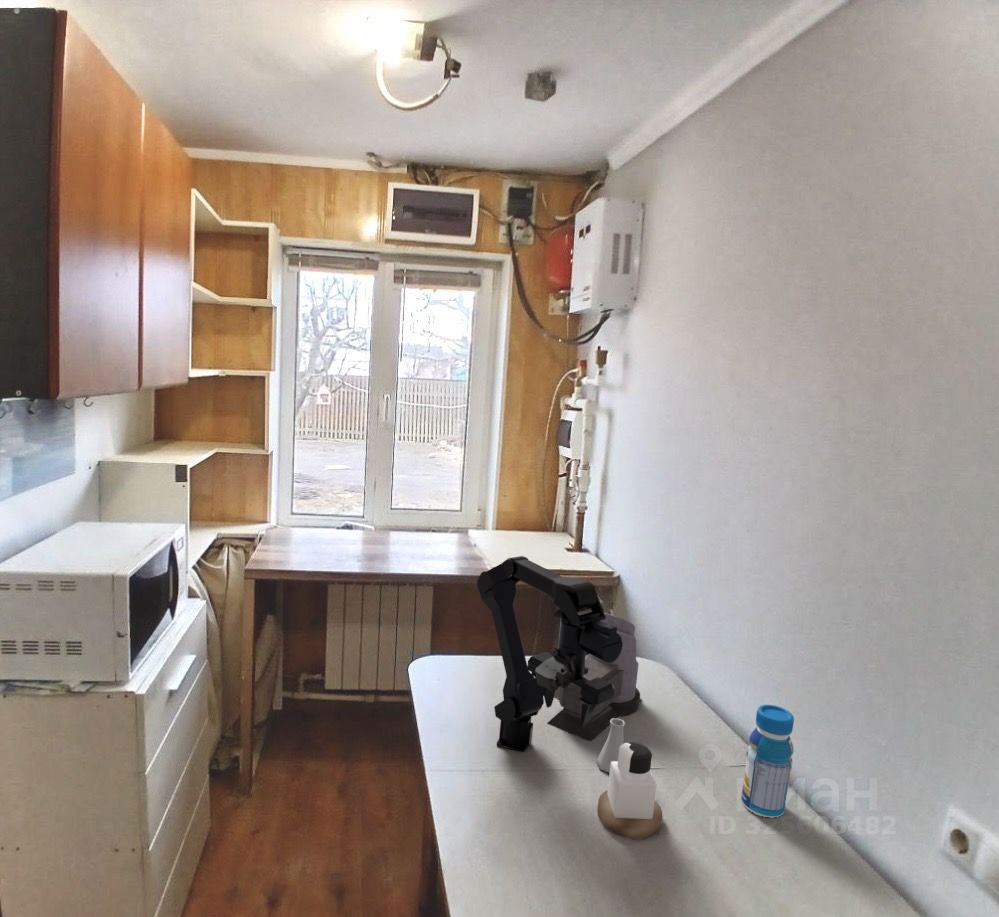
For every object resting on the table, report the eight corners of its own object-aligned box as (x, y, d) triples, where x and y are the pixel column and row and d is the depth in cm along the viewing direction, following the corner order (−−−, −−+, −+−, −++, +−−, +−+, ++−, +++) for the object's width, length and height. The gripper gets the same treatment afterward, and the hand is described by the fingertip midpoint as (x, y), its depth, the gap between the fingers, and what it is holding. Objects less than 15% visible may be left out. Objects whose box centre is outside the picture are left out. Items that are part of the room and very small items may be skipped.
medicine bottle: (642, 795, 132) (649, 738, 130) (652, 820, 125) (660, 760, 123) (606, 794, 132) (613, 736, 130) (614, 818, 125) (621, 758, 123)
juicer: (595, 678, 186) (604, 592, 182) (651, 698, 177) (661, 608, 173) (538, 720, 161) (547, 622, 158) (599, 746, 152) (610, 642, 149)
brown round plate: (592, 828, 124) (593, 818, 124) (601, 791, 136) (602, 781, 136) (659, 846, 121) (660, 836, 121) (662, 806, 133) (664, 796, 132)
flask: (629, 778, 141) (634, 733, 140) (594, 771, 142) (599, 727, 141) (630, 759, 148) (634, 716, 147) (596, 753, 149) (601, 710, 148)
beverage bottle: (764, 824, 129) (778, 727, 127) (730, 798, 137) (743, 705, 134) (794, 814, 133) (808, 719, 131) (760, 789, 141) (773, 698, 138)
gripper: (511, 636, 137) (505, 708, 139) (583, 671, 124) (575, 750, 126) (548, 625, 145) (542, 693, 147) (619, 656, 132) (611, 731, 134)
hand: (565, 716), depth 138 cm, fingers open, 9 cm apart
